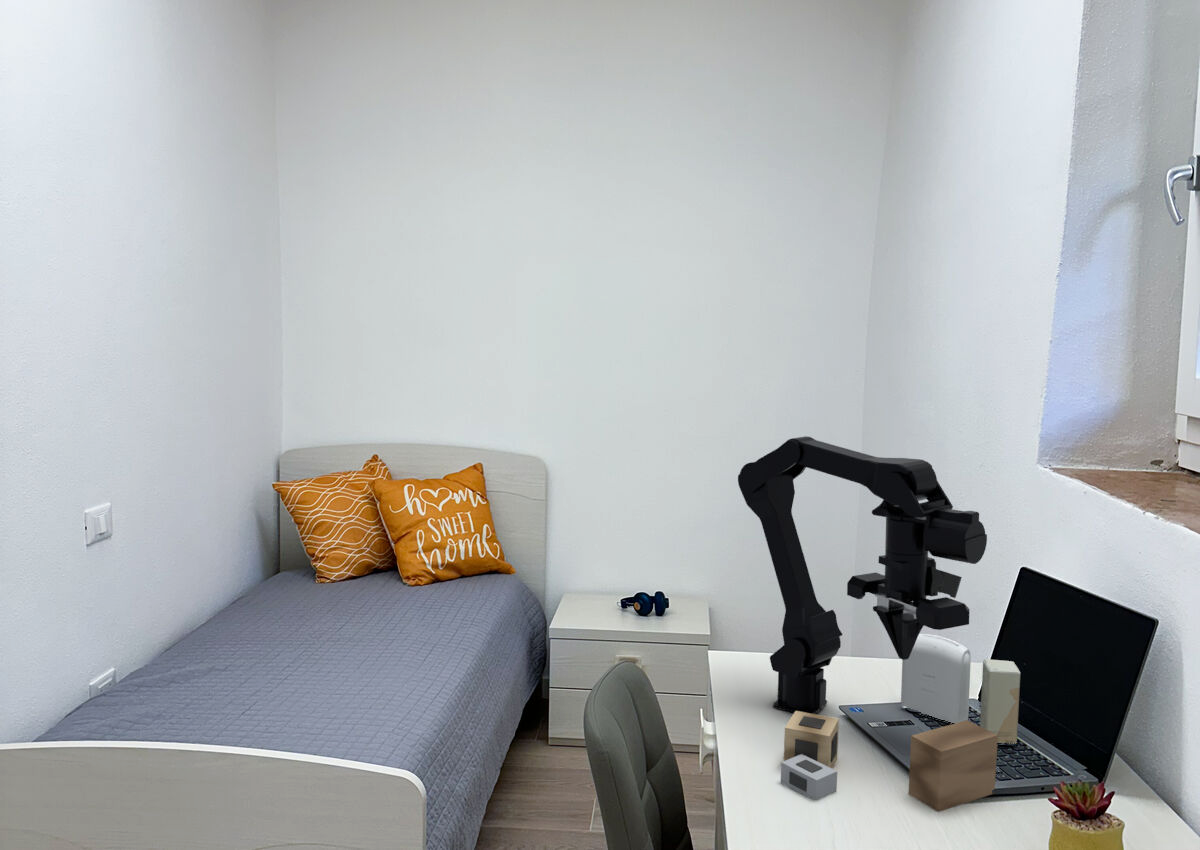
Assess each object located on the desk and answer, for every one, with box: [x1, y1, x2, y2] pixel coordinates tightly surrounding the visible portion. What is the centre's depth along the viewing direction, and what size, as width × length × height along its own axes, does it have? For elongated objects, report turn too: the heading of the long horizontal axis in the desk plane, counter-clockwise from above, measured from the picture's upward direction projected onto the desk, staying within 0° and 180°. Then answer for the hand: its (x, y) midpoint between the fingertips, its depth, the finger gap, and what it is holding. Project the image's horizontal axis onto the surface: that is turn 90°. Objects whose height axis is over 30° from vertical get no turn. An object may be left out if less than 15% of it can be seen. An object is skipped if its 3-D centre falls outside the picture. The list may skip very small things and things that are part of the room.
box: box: [979, 658, 1021, 744], centre depth 142 cm, size 5×4×11 cm
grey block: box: [780, 754, 838, 802], centre depth 128 cm, size 6×4×3 cm
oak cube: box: [783, 711, 840, 769], centre depth 134 cm, size 6×6×6 cm
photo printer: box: [900, 633, 972, 724], centre depth 150 cm, size 10×4×12 cm, turn 47°
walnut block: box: [907, 719, 998, 813], centre depth 126 cm, size 5×10×8 cm, turn 118°
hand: (903, 658), depth 139 cm, fingers closed
